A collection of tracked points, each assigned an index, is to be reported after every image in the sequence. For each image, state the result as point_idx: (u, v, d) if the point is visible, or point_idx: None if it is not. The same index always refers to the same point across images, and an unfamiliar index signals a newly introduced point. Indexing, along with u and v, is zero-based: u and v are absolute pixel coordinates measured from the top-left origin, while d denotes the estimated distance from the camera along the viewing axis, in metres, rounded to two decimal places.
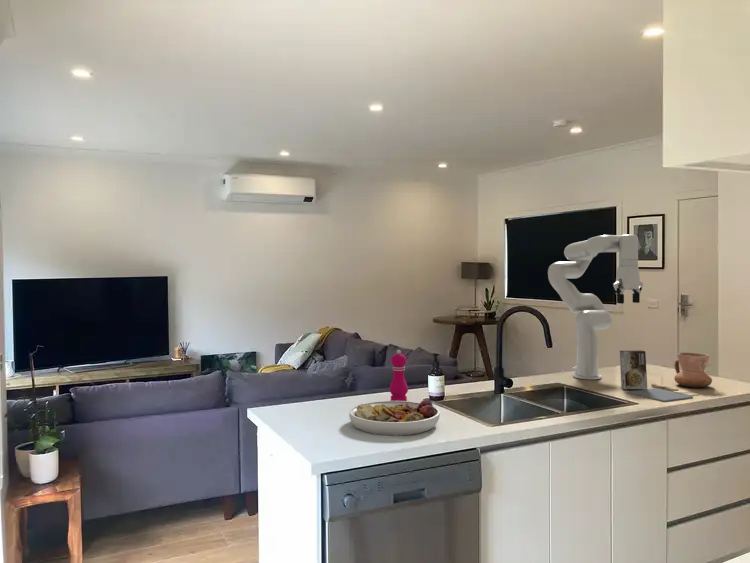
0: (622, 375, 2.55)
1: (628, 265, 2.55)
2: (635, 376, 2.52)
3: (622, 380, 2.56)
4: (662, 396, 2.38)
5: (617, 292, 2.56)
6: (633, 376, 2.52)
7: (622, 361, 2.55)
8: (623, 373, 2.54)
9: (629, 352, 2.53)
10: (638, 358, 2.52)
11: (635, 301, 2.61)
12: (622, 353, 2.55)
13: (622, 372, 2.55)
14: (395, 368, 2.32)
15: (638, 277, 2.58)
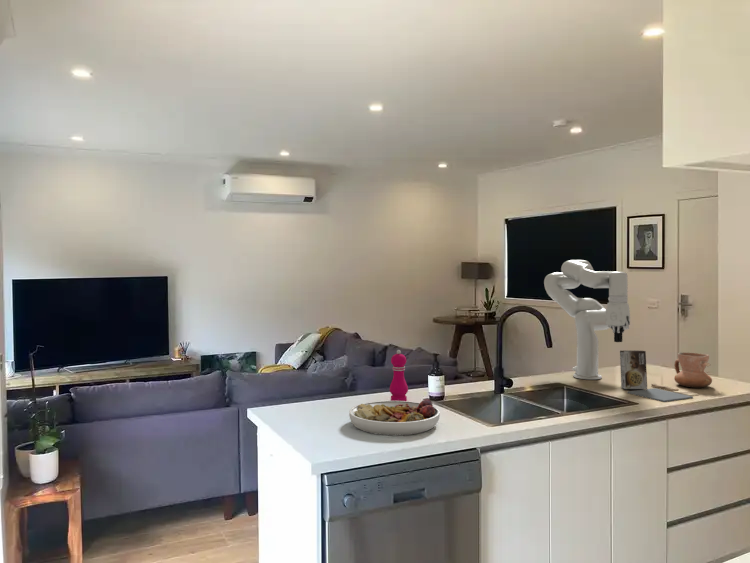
0: (622, 374, 2.55)
1: (627, 302, 2.60)
2: (635, 376, 2.52)
3: (622, 380, 2.56)
4: (662, 396, 2.38)
5: (621, 331, 2.60)
6: (633, 376, 2.52)
7: (622, 361, 2.56)
8: (623, 373, 2.54)
9: (629, 352, 2.53)
10: (639, 358, 2.52)
11: None
12: (622, 353, 2.55)
13: (623, 372, 2.55)
14: (395, 368, 2.32)
15: None
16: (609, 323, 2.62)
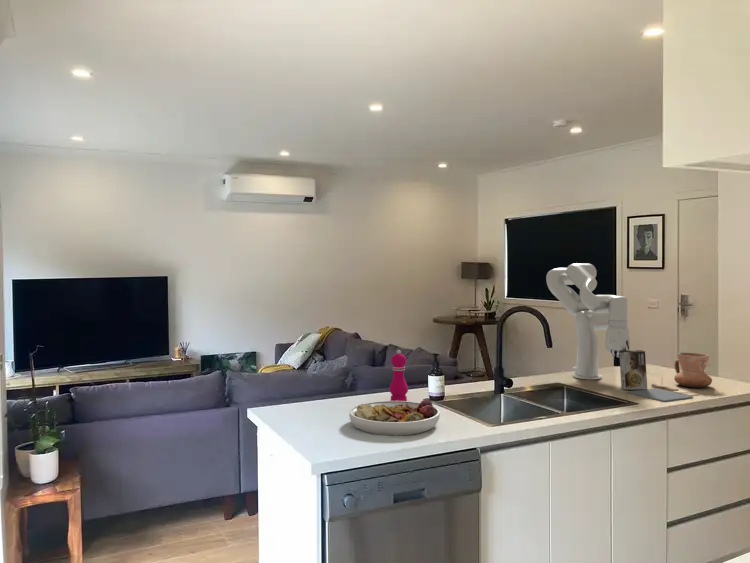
0: (622, 375, 2.55)
1: None
2: (635, 377, 2.51)
3: (622, 380, 2.55)
4: (662, 396, 2.38)
5: None
6: (633, 377, 2.51)
7: (621, 362, 2.55)
8: (623, 373, 2.54)
9: (629, 353, 2.52)
10: (638, 359, 2.52)
11: None
12: (622, 353, 2.54)
13: (622, 372, 2.54)
14: (395, 368, 2.32)
15: None
16: (609, 347, 2.63)
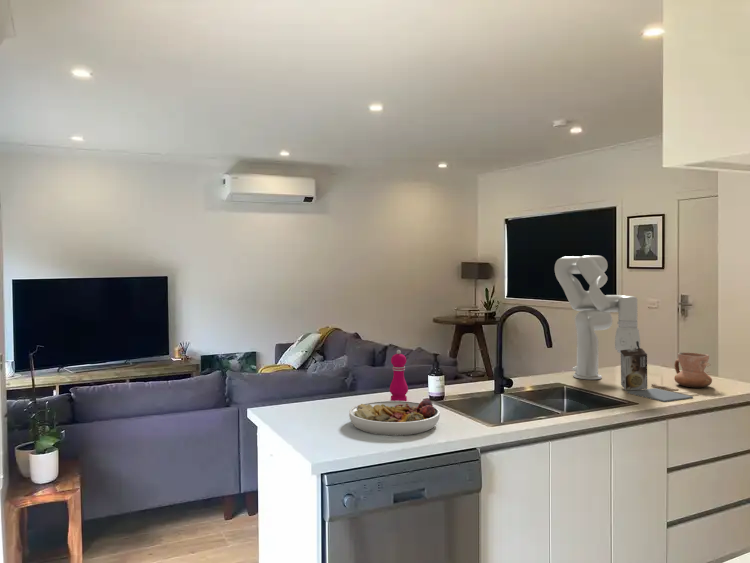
0: (622, 375, 2.53)
1: None
2: (635, 378, 2.50)
3: (622, 379, 2.54)
4: (662, 396, 2.38)
5: None
6: (634, 378, 2.50)
7: (622, 363, 2.51)
8: (623, 375, 2.52)
9: (630, 356, 2.47)
10: (640, 361, 2.48)
11: None
12: (623, 356, 2.49)
13: (623, 373, 2.52)
14: (395, 368, 2.32)
15: None
16: (619, 348, 2.58)
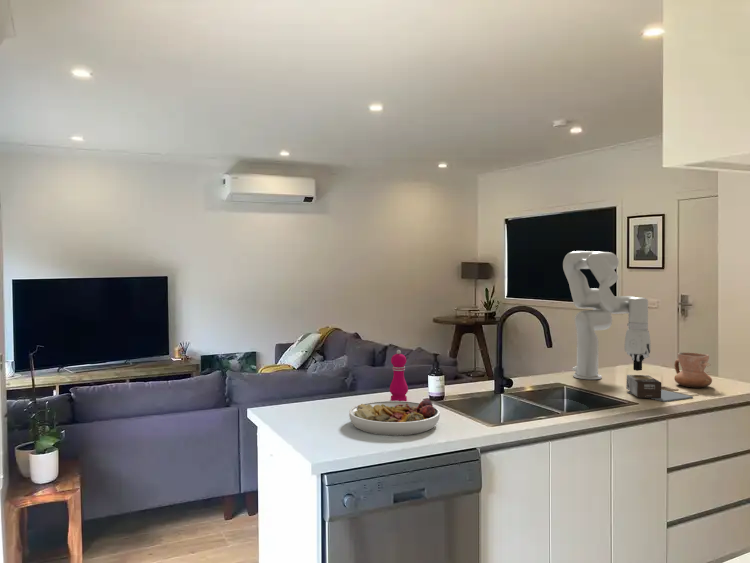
0: (630, 384, 2.46)
1: (647, 329, 2.50)
2: None
3: (628, 381, 2.48)
4: (662, 396, 2.38)
5: (641, 359, 2.50)
6: None
7: (634, 387, 2.40)
8: (630, 387, 2.45)
9: None
10: None
11: None
12: (636, 391, 2.37)
13: (631, 386, 2.45)
14: (395, 368, 2.32)
15: None
16: (628, 350, 2.53)
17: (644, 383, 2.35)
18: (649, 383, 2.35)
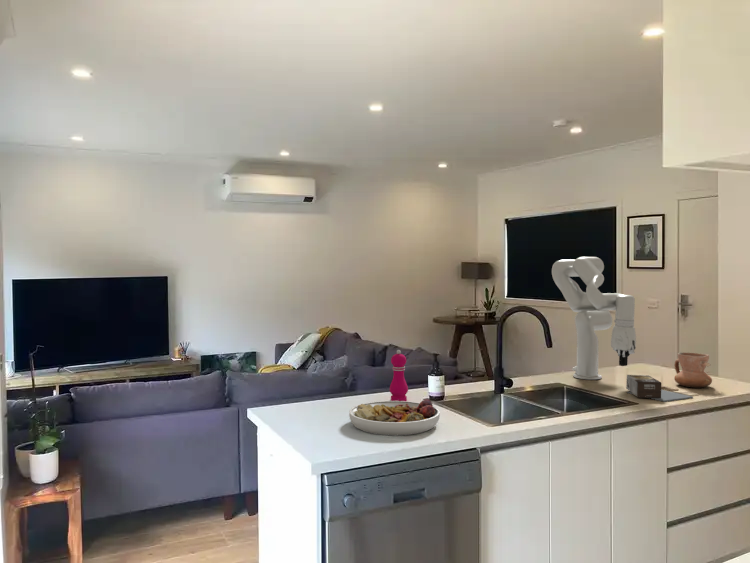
0: (630, 384, 2.46)
1: (633, 326, 2.57)
2: None
3: (628, 381, 2.48)
4: (662, 396, 2.38)
5: (627, 355, 2.57)
6: None
7: (634, 387, 2.40)
8: (630, 387, 2.45)
9: None
10: None
11: None
12: (636, 391, 2.37)
13: (631, 386, 2.45)
14: (395, 368, 2.32)
15: None
16: (614, 346, 2.60)
17: (644, 383, 2.35)
18: (649, 383, 2.35)
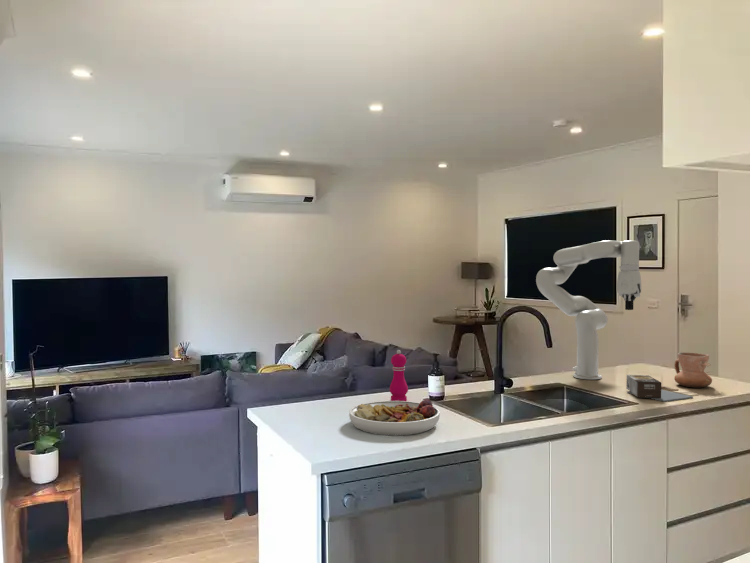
0: (630, 384, 2.46)
1: (638, 270, 2.64)
2: None
3: (628, 381, 2.48)
4: (662, 396, 2.38)
5: (632, 299, 2.64)
6: None
7: (634, 387, 2.40)
8: (630, 387, 2.45)
9: None
10: None
11: None
12: (636, 391, 2.37)
13: (631, 386, 2.45)
14: (395, 368, 2.32)
15: None
16: (620, 291, 2.66)
17: (644, 383, 2.35)
18: (649, 383, 2.35)
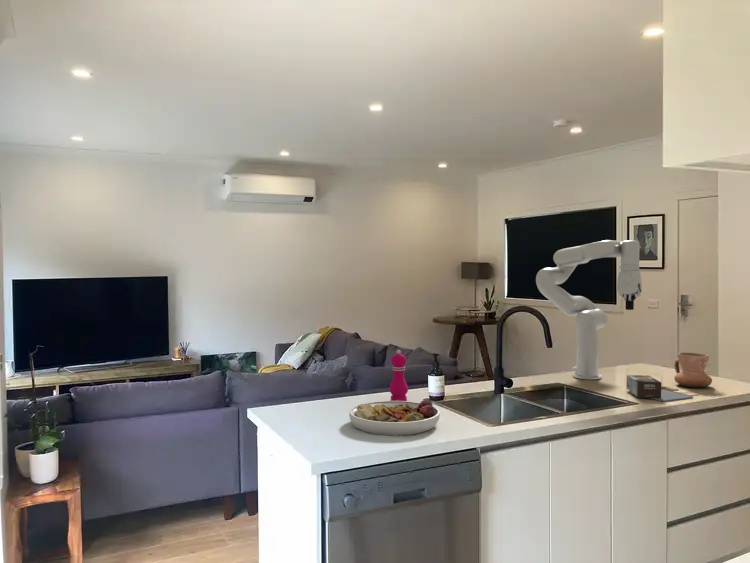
0: (630, 384, 2.46)
1: None
2: None
3: (628, 381, 2.48)
4: (662, 396, 2.38)
5: (633, 299, 2.64)
6: None
7: (634, 387, 2.40)
8: (630, 387, 2.45)
9: None
10: None
11: None
12: (636, 391, 2.37)
13: (631, 386, 2.45)
14: (395, 368, 2.32)
15: None
16: (621, 291, 2.67)
17: (644, 383, 2.35)
18: (649, 383, 2.35)
